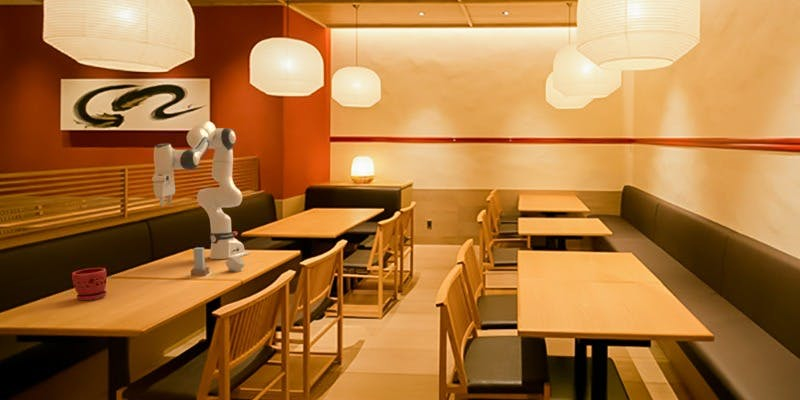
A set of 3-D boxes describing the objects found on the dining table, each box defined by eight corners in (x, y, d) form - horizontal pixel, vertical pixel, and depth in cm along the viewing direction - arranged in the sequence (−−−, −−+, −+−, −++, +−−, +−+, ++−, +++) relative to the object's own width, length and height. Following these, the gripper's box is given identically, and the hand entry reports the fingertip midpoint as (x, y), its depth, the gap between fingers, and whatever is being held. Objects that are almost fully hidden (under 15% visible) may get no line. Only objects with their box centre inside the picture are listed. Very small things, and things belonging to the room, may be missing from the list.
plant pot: (98, 293, 290) (96, 266, 289) (113, 297, 282) (111, 269, 281) (68, 299, 280) (66, 271, 279) (82, 303, 272) (80, 274, 271)
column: (197, 267, 325) (195, 247, 324) (205, 267, 325) (204, 247, 324) (194, 269, 321) (193, 249, 320) (202, 269, 321) (201, 248, 320)
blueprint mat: (205, 271, 333) (204, 270, 333) (222, 273, 326) (222, 273, 326) (181, 276, 321) (181, 275, 321) (198, 279, 314) (198, 278, 314)
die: (248, 271, 333) (242, 255, 337) (242, 266, 326) (237, 249, 329) (232, 278, 333) (227, 261, 337) (227, 272, 325) (221, 255, 329)
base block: (195, 273, 326) (194, 267, 326) (209, 273, 327) (209, 267, 326) (191, 276, 320) (190, 270, 319) (205, 276, 320) (205, 269, 319)
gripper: (165, 175, 336) (166, 203, 337) (150, 178, 315) (152, 207, 317) (177, 175, 336) (179, 202, 337) (164, 177, 315) (165, 206, 317)
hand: (166, 205), depth 327 cm, fingers open, 8 cm apart
